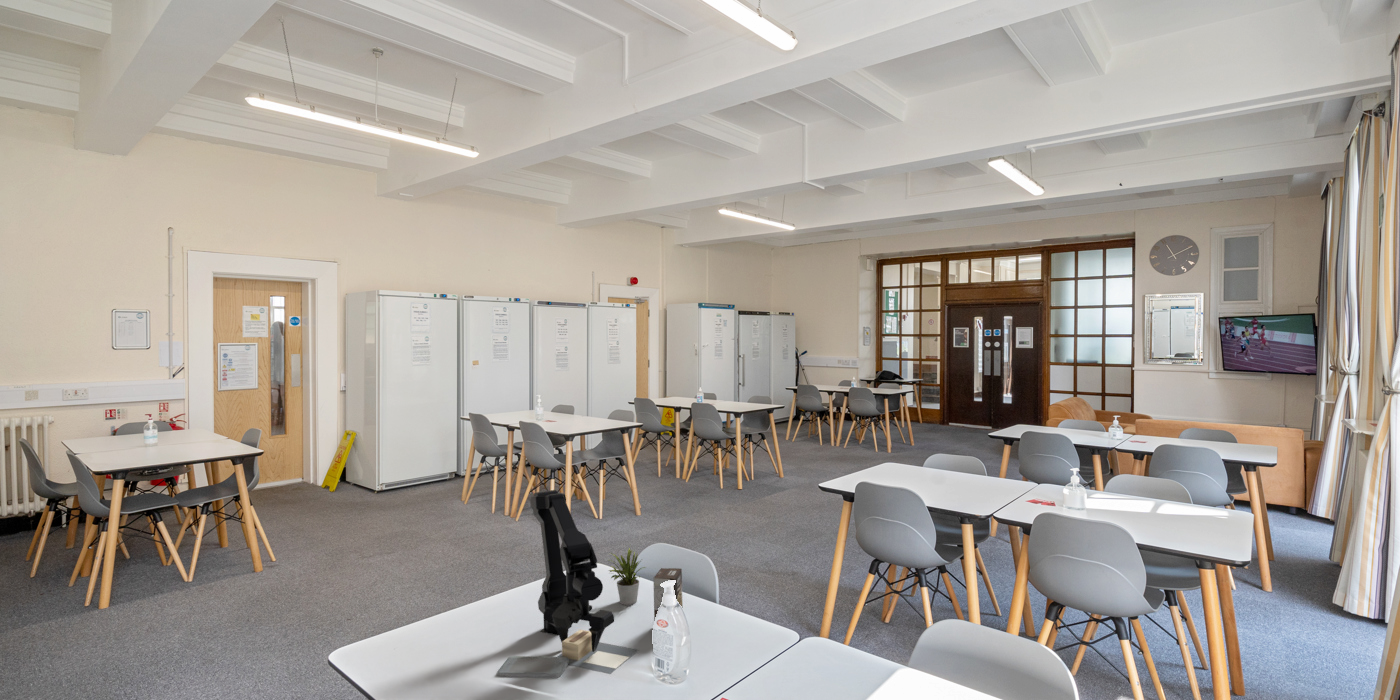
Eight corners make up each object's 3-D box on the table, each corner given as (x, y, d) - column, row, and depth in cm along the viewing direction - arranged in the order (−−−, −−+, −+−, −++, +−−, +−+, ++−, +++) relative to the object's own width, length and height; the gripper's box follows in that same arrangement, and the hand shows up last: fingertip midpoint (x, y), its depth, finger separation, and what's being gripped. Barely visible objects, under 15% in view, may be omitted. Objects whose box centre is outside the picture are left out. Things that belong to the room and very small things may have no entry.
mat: (550, 663, 172) (550, 661, 172) (582, 640, 184) (582, 638, 184) (610, 675, 164) (610, 673, 164) (639, 651, 177) (639, 649, 177)
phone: (509, 660, 173) (509, 655, 173) (570, 661, 171) (569, 656, 171) (496, 677, 165) (496, 672, 165) (559, 678, 163) (559, 673, 163)
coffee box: (676, 637, 185) (675, 578, 185) (654, 636, 186) (652, 577, 186) (684, 624, 194) (682, 567, 194) (662, 622, 195) (660, 567, 195)
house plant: (605, 593, 220) (603, 543, 219) (647, 590, 221) (646, 541, 221) (603, 610, 205) (602, 557, 205) (649, 607, 207) (647, 554, 207)
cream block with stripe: (578, 660, 172) (578, 644, 172) (562, 657, 174) (561, 641, 174) (596, 647, 179) (595, 631, 179) (580, 644, 181) (580, 629, 181)
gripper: (528, 594, 173) (530, 655, 173) (589, 604, 165) (591, 668, 165) (555, 580, 183) (557, 638, 183) (614, 589, 175) (616, 649, 175)
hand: (579, 648), depth 176 cm, fingers open, 9 cm apart
